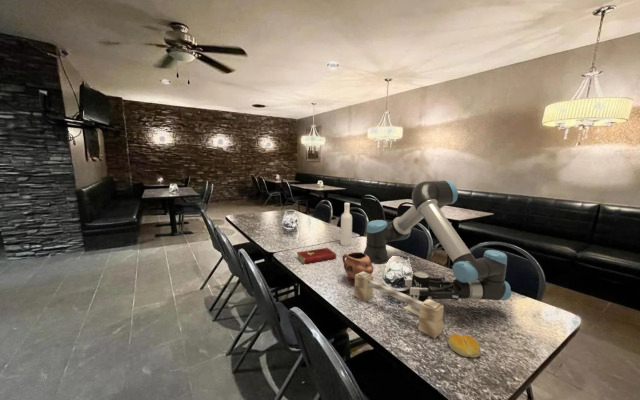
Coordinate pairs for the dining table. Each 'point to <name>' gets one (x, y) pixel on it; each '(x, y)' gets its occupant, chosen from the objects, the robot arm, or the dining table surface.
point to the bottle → (346, 226)
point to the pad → (412, 309)
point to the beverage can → (420, 284)
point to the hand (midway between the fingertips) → (407, 286)
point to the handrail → (428, 309)
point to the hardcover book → (316, 255)
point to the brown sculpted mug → (356, 265)
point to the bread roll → (464, 345)
